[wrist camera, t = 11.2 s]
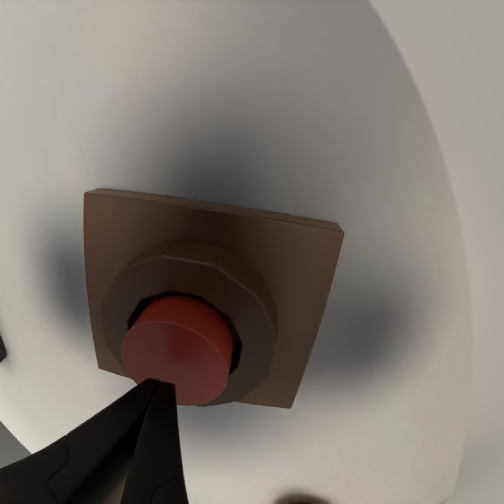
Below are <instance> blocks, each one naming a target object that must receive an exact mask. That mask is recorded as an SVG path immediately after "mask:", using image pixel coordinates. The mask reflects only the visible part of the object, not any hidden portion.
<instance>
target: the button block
mask: <svg viewBox="0 0 504 504" xmlns="http://www.w3.org/2000/svg"><path fill="white" fill-rule="evenodd" d="M343 237H344V231H343V230H342V229H341V227H340V226H339V225H338V224H336V223H331V222H325V221H320V220H315V219H309V218H303V217H298V216H292V215H286V214H281V213H275V212H269V211H263V210H257V209H250V208H244V207H238V206H231V205H225V204H218V203H211V202H204V201H197V200H190V199H183V198H176V197H168V196H160V195H152V194H144V193H136V192H127V191H119V190H110V189H100V188H98V189H95V190H92V191H88V192H85V193H84V252H85V270H86V282H87V293H88V303H89V311H90V319H91V326H92V333H93V339H94V345H95V351H96V357H97V362H98V367H99V369H102V370H105V371H108V372H111V373H114V374H118V375H121V376H124V377H128V378H131V377H130V375H129V374H128V372H127V371H126V369H125V366H124V364H123V361H122V356H121V347H122V342H123V339H124V338H125V336H126V334H127V333H128V331H129V330H130V329H131V327H132V326H133V324H134V323H135V322H136V320H137V319H138V317H139V316H140V315H141V313H142V312H143V310H144V309H145V308H146V307H147V306H148V305H149V304H150V303H151V302H153V301H154V300H156V299H159V298H161V297H165V296H171V295H182V296H188V297H192V298H196V299H198V300H201V301H203V302H205V303H207V304H208V305H210V306H211V307H213V308H214V309H215V310H217V311H218V312H219V313H220V314H221V315H222V316H223V318H224V319H225V320H226V321H227V323H228V325H229V327H230V329H231V331H232V334H233V338H234V349H233V354H232V360H231V365H230V370H229V376H228V381H227V384H226V386H225V389H224V390H223V391H222V393H221V394H220V395H219V396H218V397H216V398H215V399H213V400H211V401H209V402H207V403H204V404H200V405H193V406H198V407H207V406H213V405H219V404H224V403H230V402H241V403H247V404H254V405H262V406H270V407H279V408H289V409H290V408H291V407H292V405H293V402H294V399H295V396H296V394H297V391H298V388H299V385H300V383H301V380H302V377H303V374H304V371H305V368H306V365H307V362H308V359H309V356H310V353H311V350H312V347H313V344H314V341H315V338H316V335H317V331H318V328H319V325H320V322H321V318H322V315H323V312H324V308H325V305H326V301H327V298H328V294H329V291H330V287H331V284H332V280H333V276H334V272H335V269H336V265H337V261H338V257H339V253H340V249H341V245H342V241H343ZM131 379H132V378H131ZM132 380H133V379H132Z"/></svg>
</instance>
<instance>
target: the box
mask: <svg viewBox="0 0 504 504" xmlns="http://www.w3.org/2000/svg"><path fill="white" fill-rule="evenodd" d="M5 357H6V353H5V351H4V348H3V346H2V344H1V341H0V362H2V360H3V359H4V358H5Z"/></svg>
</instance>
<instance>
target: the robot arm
mask: <svg viewBox="0 0 504 504" xmlns="http://www.w3.org/2000/svg"><path fill="white" fill-rule="evenodd" d="M0 504H189V502H188V497H187V492H186V487H185V480H184V473H183V465H182V457H181V448H180V438H179V428H178V416H177V403H176V389H175V384H174V383H170V382H165V381H162V382H161V381H160V380H157V379H153V378H147V379H145V380H144V381H142V382H141V383H140V384H138V385H137V386H135V387H134V388H133V389H131V390H130V391H128V392H127V393H126V394H124V395H123V396H121V397H120V398H119V399H117V400H116V401H114V402H113V403H111V404H110V405H109V406H107V407H106V408H104V409H103V410H101V411H100V412H99V413H97V414H96V415H94V416H93V417H91V418H90V419H88V420H87V421H85V422H84V423H83V424H81V425H80V426H78V427H77V428H75V429H74V430H72V431H71V432H69V433H68V434H67V436H66V435H64V436H63V437H61V438H60V439H58V440H57V441H55V442H54V443H52V444H50V445H49V446H47V447H45V448H44V449H42V450H40V451H38V452H36V453H34V454H32V455H30V456H28V457H26V458H24V459H22V460H19V461H17V462H15V463H12V464H10V465H8V466H5V467H3V468H1V469H0Z"/></svg>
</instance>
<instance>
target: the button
mask: <svg viewBox="0 0 504 504" xmlns="http://www.w3.org/2000/svg"><path fill="white" fill-rule="evenodd" d="M233 349H234V338H233V334H232V331H231V329H230V327H229V325H228V323H227V321H226V320H225V319H224V318H223V316H222V315H221V314H220V313H219V312H218V311H217V310H215V309H214V308H213V307H211V306H210V305H208V304H207V303H205V302H203V301H201V300H198V299H196V298H192V297H188V296H182V295H171V296H165V297H161V298H159V299H156V300H154V301H153V302H151V303H150V304H149V305H148V306H147V307H146V308H145V309H144V310H143V312H142V313H141V315H140V316H139V317H138V319H137V320H136V322H135V323H134V324H133V326H132V327H131V329H130V330H129V331H128V333H127V334H126V336H125V338H124V339H123V342H122V347H121V356H122V361H123V364H124V366H125V369H126V371H127V372H128V374H129V375H130V377H131V378H132V379H133V380H134V382H135V383H136V384H137V385H138V384H140V383H141V382H142V381H144V380H145V379H147V378H153V379H157V380H160V381H161V382H162V381H165V382H170V383H174V384H175V389H176V403H177V405H185V406H192V405H200V404H204V403H207V402H209V401H211V400H213V399H215V398H216V397H218V396H219V395H220V394H221V393H222V391H223V390H224V389H225V386H226V384H227V381H228V376H229V370H230V365H231V360H232V354H233Z"/></svg>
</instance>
